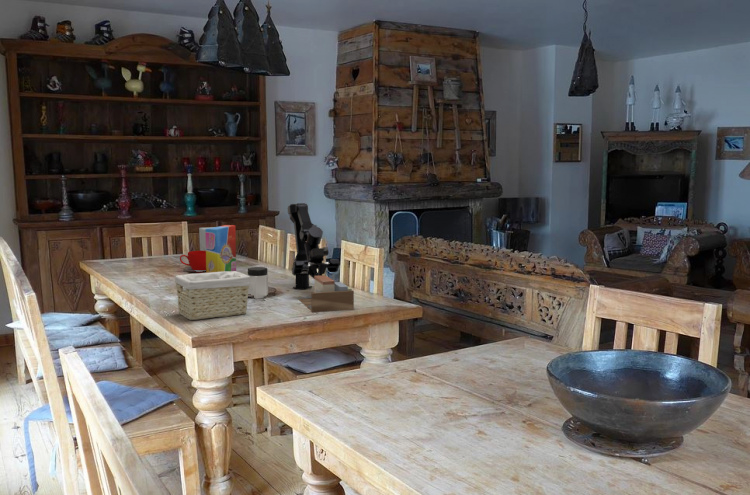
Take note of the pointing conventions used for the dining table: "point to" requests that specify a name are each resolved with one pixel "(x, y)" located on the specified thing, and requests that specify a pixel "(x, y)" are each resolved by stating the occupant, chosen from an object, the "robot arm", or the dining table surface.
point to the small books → (341, 287)
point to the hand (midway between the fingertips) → (319, 283)
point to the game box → (220, 249)
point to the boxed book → (324, 284)
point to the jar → (258, 282)
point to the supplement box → (203, 238)
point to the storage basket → (212, 294)
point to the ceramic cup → (196, 260)
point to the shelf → (330, 301)
